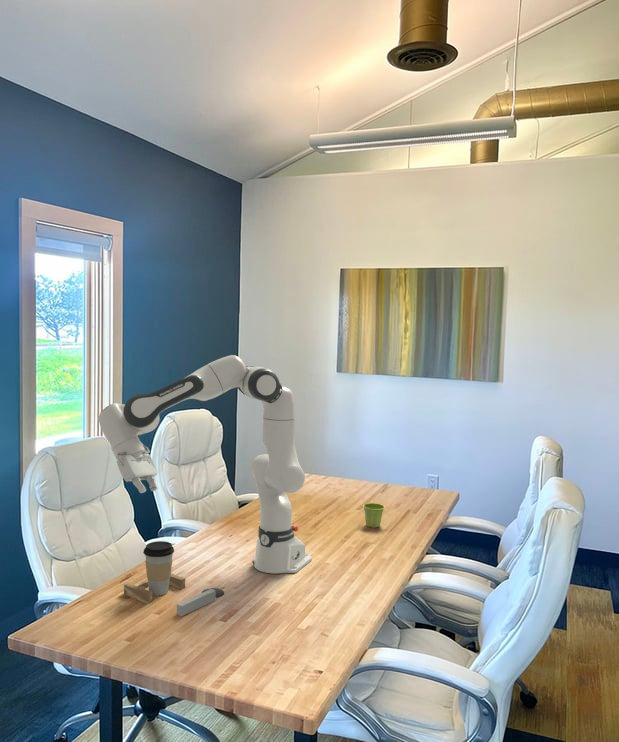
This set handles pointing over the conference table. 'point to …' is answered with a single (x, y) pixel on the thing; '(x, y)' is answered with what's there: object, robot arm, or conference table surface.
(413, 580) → the conference table surface
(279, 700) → the conference table surface
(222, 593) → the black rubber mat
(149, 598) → the oak cubby
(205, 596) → the bar
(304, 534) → the conference table surface
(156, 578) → the coffee cup
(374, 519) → the plant pot
